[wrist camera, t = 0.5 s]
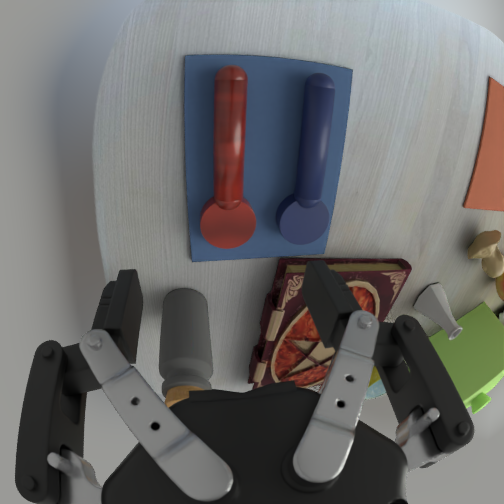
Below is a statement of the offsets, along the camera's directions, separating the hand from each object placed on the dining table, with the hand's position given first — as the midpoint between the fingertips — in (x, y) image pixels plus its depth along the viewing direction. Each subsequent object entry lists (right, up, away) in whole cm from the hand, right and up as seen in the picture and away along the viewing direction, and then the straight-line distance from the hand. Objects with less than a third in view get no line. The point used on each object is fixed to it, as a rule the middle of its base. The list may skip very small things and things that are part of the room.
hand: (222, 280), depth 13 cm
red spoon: (-1, +9, +13) cm, 16 cm away
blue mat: (+3, +10, +14) cm, 18 cm away
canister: (+55, -24, +49) cm, 77 cm away
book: (+12, -11, +31) cm, 35 cm away
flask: (+35, -7, +33) cm, 48 cm away
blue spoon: (+7, +10, +15) cm, 19 cm away
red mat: (+45, +18, +17) cm, 52 cm away
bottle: (-7, -5, +23) cm, 25 cm away
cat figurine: (+45, +3, +28) cm, 53 cm away
